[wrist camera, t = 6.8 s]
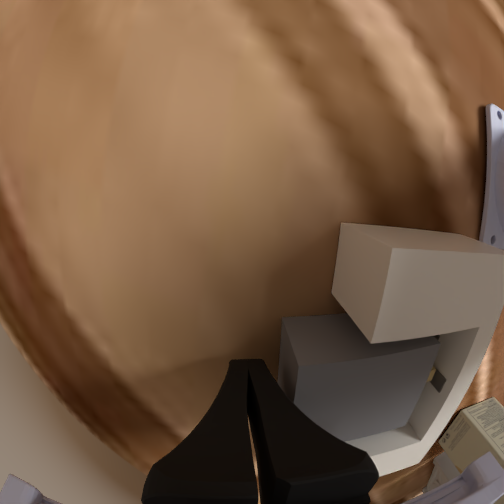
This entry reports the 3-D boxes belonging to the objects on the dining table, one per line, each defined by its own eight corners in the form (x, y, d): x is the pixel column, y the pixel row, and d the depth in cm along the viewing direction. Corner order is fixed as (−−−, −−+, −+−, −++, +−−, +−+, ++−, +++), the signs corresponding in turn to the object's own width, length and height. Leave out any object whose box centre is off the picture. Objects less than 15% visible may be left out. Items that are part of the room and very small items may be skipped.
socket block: (460, 233, 11) (516, 255, 8) (395, 422, 15) (418, 463, 11) (341, 222, 11) (392, 247, 7) (297, 440, 14) (310, 491, 10)
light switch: (447, 449, 18) (478, 497, 11) (432, 484, 21) (452, 521, 14) (434, 457, 18) (463, 507, 11) (421, 490, 21) (441, 528, 14)
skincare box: (435, 441, 17) (490, 530, 5) (460, 407, 16) (529, 500, 4) (474, 426, 17) (526, 497, 6) (496, 394, 16) (558, 465, 5)
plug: (419, 304, 12) (459, 338, 9) (396, 380, 14) (423, 419, 10) (281, 316, 12) (298, 366, 9) (275, 398, 13) (285, 450, 10)
